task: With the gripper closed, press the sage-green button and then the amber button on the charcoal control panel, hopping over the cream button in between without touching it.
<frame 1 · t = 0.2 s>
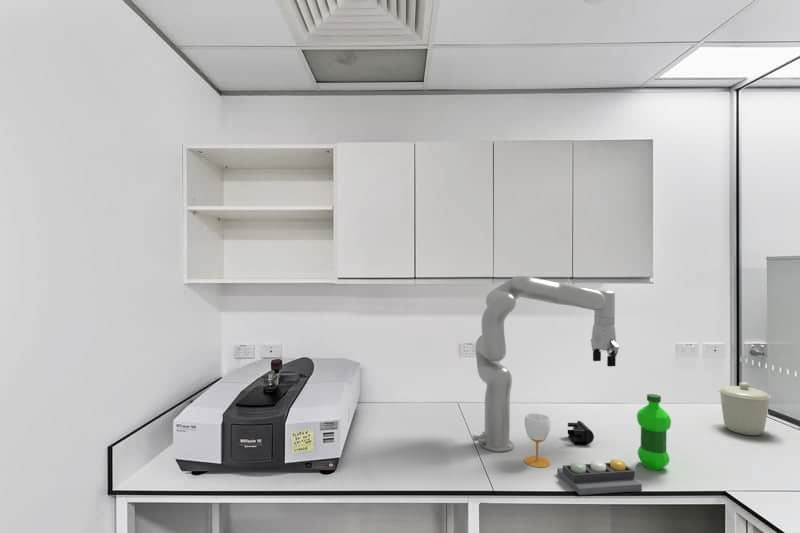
hand: (603, 363, 185), 31 cm above the worktop, fingers open, 9 cm apart
plastic bottle: (653, 467, 161), on the worktop
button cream: (598, 467, 149), point 5 cm above the worktop, slide at 0.0 cm
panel: (598, 482, 149), on the worktop
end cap: (580, 441, 184), on the worktop
cup: (536, 462, 164), on the worktop
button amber: (617, 466, 150), point 5 cm above the worktop, slide at 0.0 cm
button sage: (578, 468, 148), point 5 cm above the worktop, slide at 0.0 cm
canister: (743, 431, 196), on the worktop
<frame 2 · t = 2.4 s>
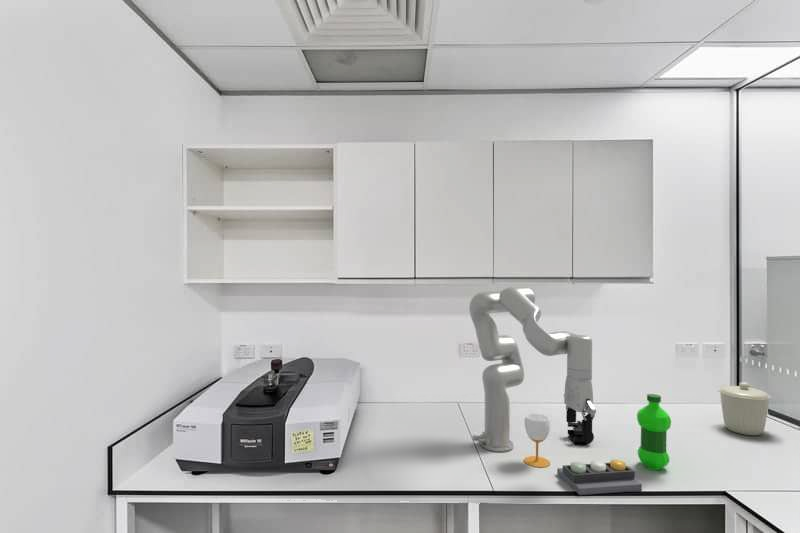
hand: (578, 427, 148), 18 cm above the worktop, fingers open, 8 cm apart
nothing on the worktop moved.
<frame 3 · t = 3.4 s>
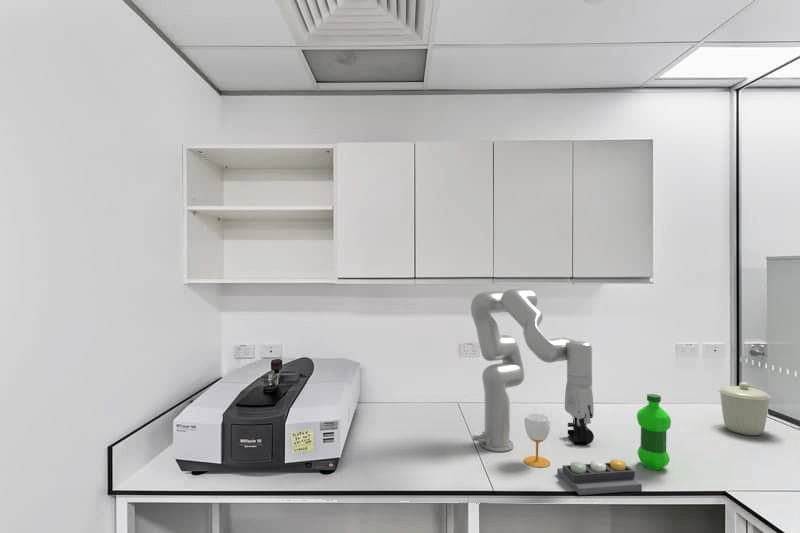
hand: (579, 437, 148), 15 cm above the worktop, fingers closed
nothing on the worktop moved.
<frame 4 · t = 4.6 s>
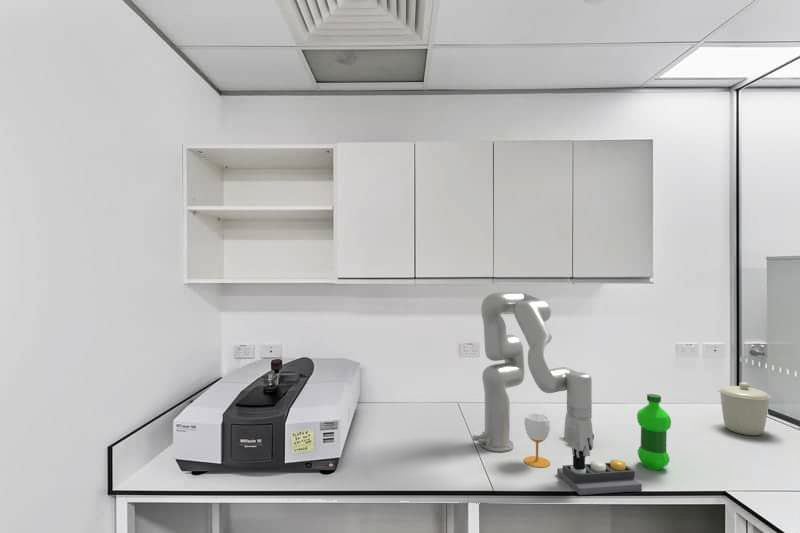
hand: (578, 468, 148), 5 cm above the worktop, fingers closed
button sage: (578, 471, 148), point 4 cm above the worktop, slide at -1.0 cm, touching gripper
everything else where it was.
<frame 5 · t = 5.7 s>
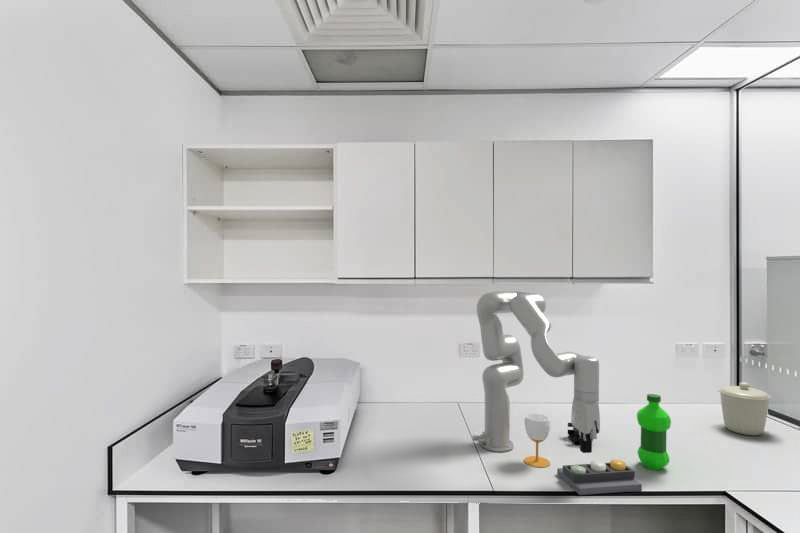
hand: (585, 451, 148), 10 cm above the worktop, fingers closed
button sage: (578, 472, 148), point 4 cm above the worktop, slide at -1.1 cm
everything else where it was.
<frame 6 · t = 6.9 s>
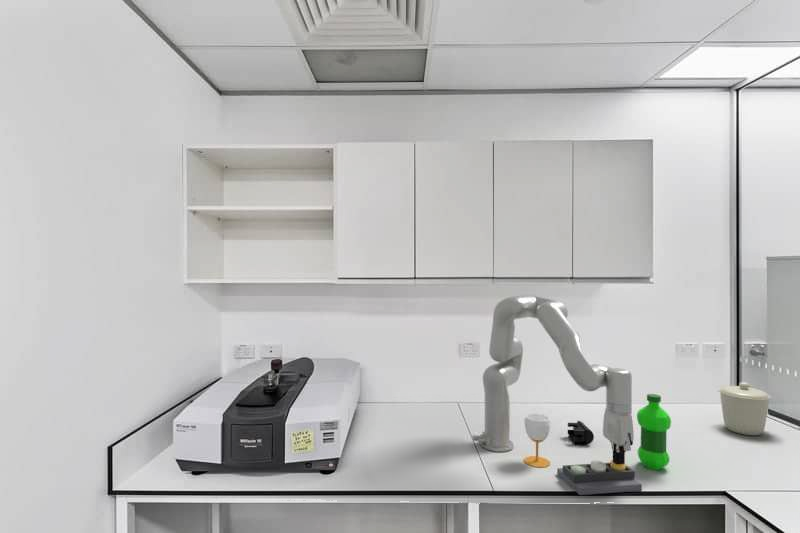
hand: (618, 463, 150), 6 cm above the worktop, fingers closed
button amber: (617, 466, 150), point 5 cm above the worktop, slide at -0.2 cm, touching gripper
everything else where it was.
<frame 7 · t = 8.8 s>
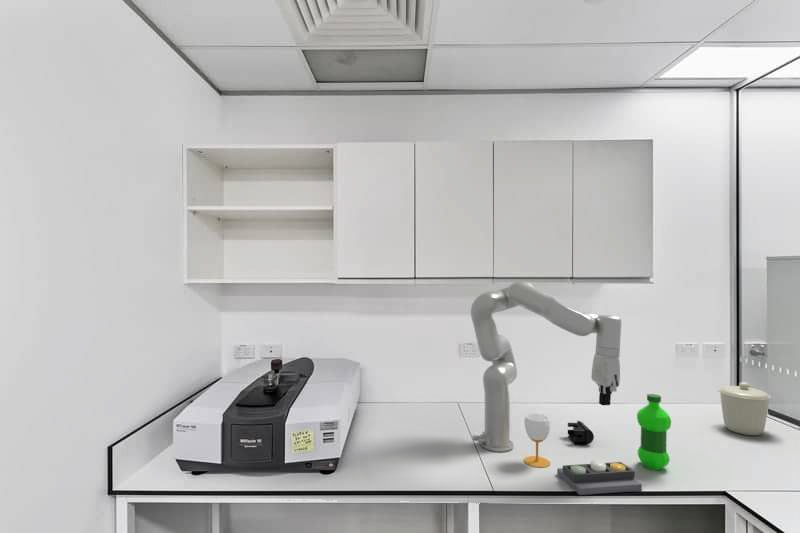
hand: (604, 404, 158), 23 cm above the worktop, fingers closed
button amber: (617, 469, 150), point 4 cm above the worktop, slide at -1.1 cm
everything else where it was.
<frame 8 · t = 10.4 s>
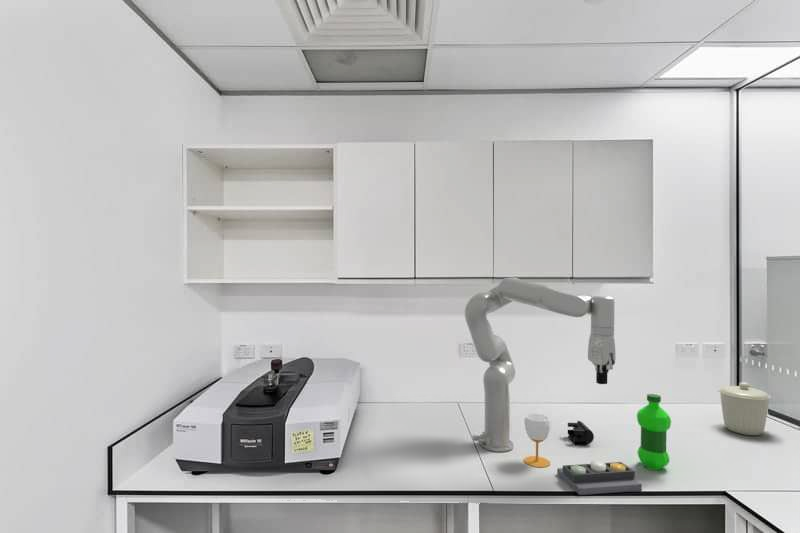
hand: (601, 383, 161), 29 cm above the worktop, fingers closed
nothing on the worktop moved.
at the end: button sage slide at -1.1 cm; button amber slide at -1.1 cm; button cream slide at 0.0 cm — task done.
